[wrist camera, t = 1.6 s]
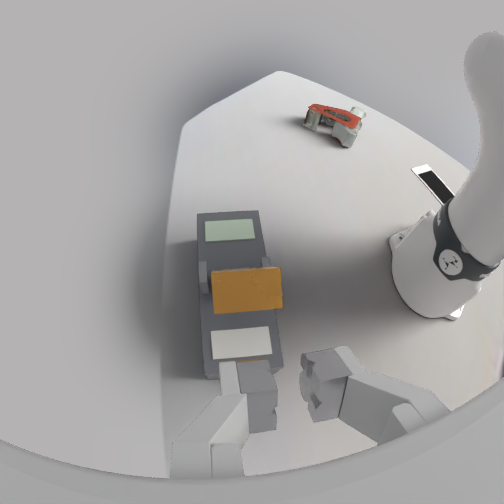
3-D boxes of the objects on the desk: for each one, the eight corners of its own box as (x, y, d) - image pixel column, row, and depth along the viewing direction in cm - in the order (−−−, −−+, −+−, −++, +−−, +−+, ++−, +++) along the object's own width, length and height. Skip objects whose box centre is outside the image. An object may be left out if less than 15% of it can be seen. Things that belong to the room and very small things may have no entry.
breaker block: (274, 373, 32) (289, 362, 24) (208, 379, 31) (201, 370, 23) (254, 236, 42) (260, 195, 34) (200, 239, 41) (195, 198, 33)
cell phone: (425, 165, 58) (426, 164, 57) (466, 213, 51) (468, 212, 50) (409, 170, 56) (410, 168, 55) (453, 222, 49) (455, 220, 48)
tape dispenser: (359, 119, 68) (292, 109, 64) (365, 104, 63) (297, 92, 59) (389, 157, 58) (315, 148, 54) (398, 140, 54) (322, 127, 50)
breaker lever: (257, 286, 32) (287, 307, 18) (212, 289, 31) (209, 314, 17) (255, 263, 32) (285, 267, 18) (210, 266, 31) (206, 273, 17)
